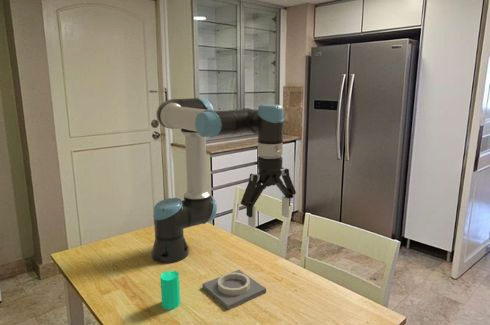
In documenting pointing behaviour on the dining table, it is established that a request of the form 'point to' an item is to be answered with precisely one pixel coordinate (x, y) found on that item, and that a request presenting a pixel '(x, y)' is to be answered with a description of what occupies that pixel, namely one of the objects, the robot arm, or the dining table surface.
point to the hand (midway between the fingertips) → (269, 220)
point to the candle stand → (233, 289)
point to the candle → (170, 289)
